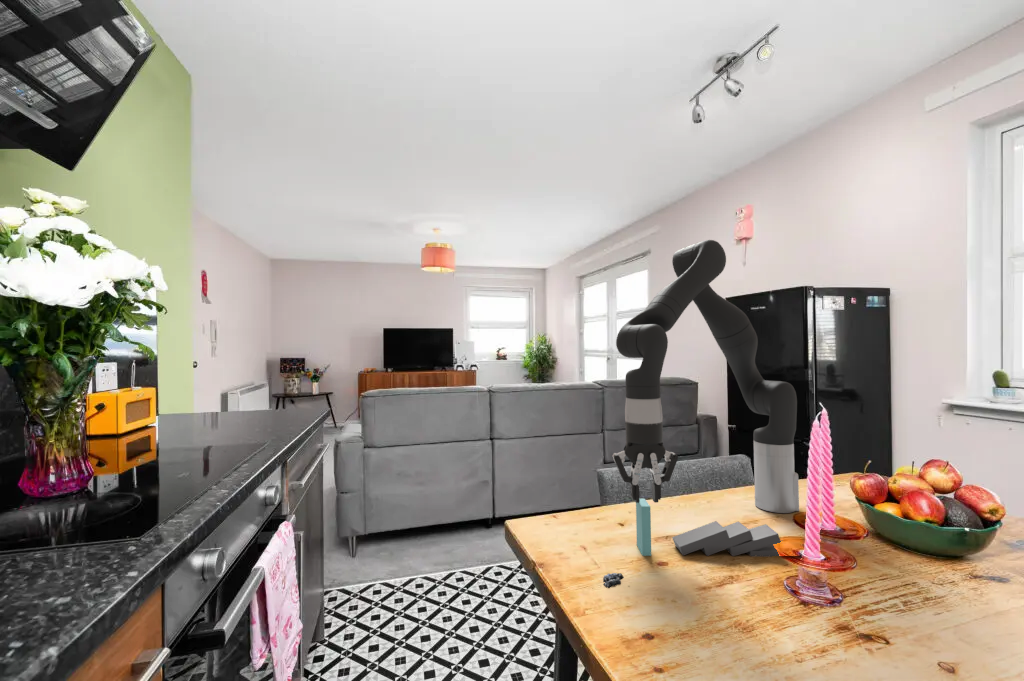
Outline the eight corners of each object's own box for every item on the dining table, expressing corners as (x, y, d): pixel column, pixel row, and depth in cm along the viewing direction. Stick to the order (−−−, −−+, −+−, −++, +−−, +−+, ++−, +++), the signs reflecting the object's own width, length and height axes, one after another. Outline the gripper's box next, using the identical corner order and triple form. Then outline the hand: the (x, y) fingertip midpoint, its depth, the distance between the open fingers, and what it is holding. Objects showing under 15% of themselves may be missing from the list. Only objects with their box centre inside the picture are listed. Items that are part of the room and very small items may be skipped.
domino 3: (722, 545, 98) (768, 532, 98) (732, 556, 93) (780, 542, 93) (720, 537, 98) (765, 524, 98) (729, 547, 93) (778, 533, 93)
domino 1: (675, 545, 98) (719, 528, 98) (683, 555, 93) (729, 538, 93) (672, 537, 98) (716, 520, 98) (679, 546, 93) (726, 529, 93)
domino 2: (697, 545, 98) (741, 529, 98) (707, 556, 93) (753, 538, 93) (694, 537, 98) (738, 521, 98) (703, 547, 93) (749, 530, 93)
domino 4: (739, 549, 98) (787, 549, 98) (750, 559, 93) (801, 560, 93) (739, 540, 98) (787, 540, 98) (750, 550, 93) (801, 551, 93)
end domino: (645, 545, 99) (644, 498, 99) (651, 555, 94) (650, 506, 94) (636, 545, 99) (635, 498, 99) (642, 555, 94) (641, 506, 94)
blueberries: (640, 583, 85) (640, 572, 85) (624, 599, 78) (624, 587, 78) (605, 573, 89) (606, 563, 89) (588, 588, 82) (588, 577, 82)
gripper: (672, 416, 100) (674, 495, 100) (606, 417, 101) (609, 496, 101) (683, 421, 93) (686, 507, 93) (613, 422, 93) (615, 508, 93)
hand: (645, 501), depth 97 cm, fingers open, 3 cm apart
